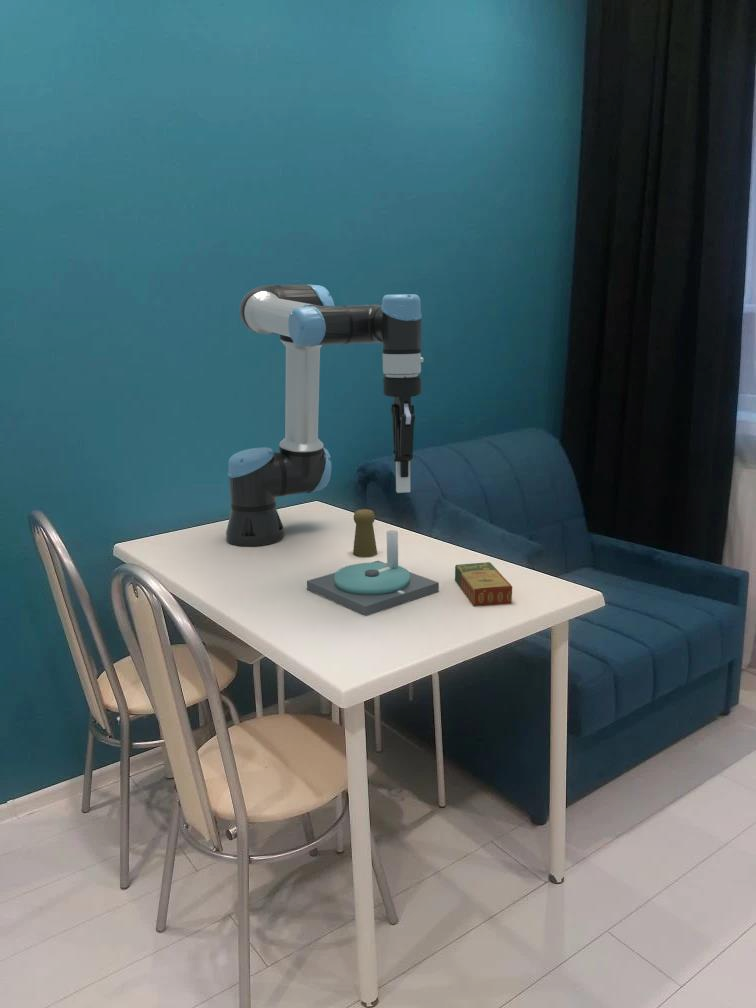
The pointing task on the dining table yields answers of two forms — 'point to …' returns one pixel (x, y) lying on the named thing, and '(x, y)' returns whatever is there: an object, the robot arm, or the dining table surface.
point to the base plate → (372, 602)
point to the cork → (364, 534)
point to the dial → (375, 573)
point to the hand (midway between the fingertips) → (403, 491)
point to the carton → (483, 584)
